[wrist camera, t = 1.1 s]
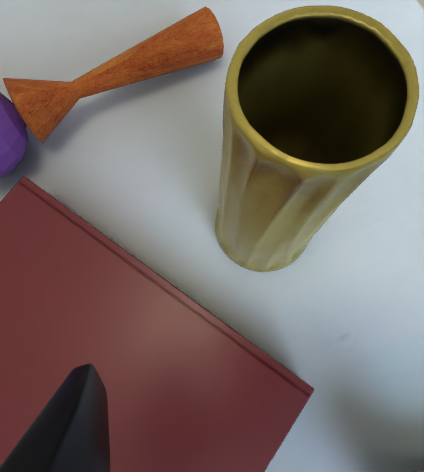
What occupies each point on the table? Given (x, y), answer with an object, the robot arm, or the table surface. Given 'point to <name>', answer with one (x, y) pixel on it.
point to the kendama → (102, 81)
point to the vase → (306, 126)
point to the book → (129, 350)
